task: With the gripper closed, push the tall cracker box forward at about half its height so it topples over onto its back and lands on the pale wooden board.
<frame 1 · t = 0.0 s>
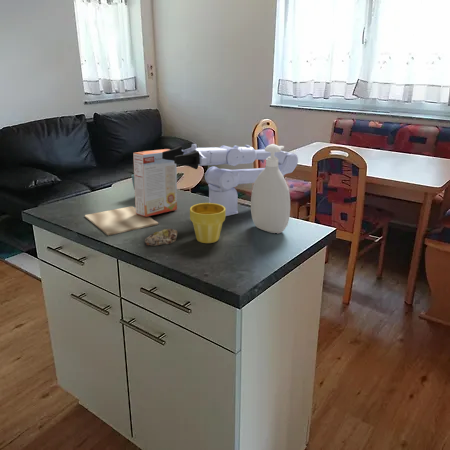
hand: (168, 157, 139), 22 cm above the countertop, tool horizontal, fingers open, 7 cm apart
soap bottle: (270, 229, 144), on the countertop
plant pot: (207, 239, 136), on the countertop
flower pot: (148, 197, 174), on the countertop
mineral rock: (160, 241, 135), on the countertop
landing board: (120, 220, 150), on the countertop
cracker box: (156, 212, 157), on the countertop
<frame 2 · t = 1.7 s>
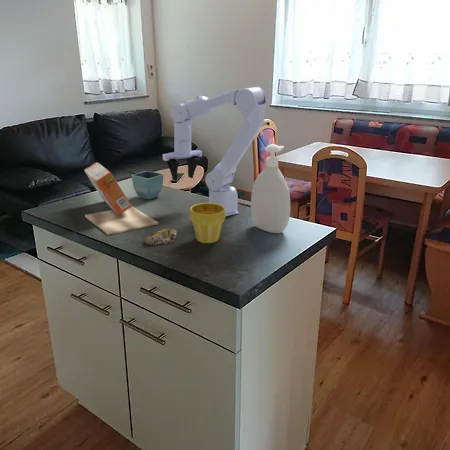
hand: (182, 178, 160), 10 cm above the countertop, tool pointing down, fingers open, 6 cm apart
cracker box: (115, 194, 148), point 8 cm above the countertop, touching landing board
everything else where it was.
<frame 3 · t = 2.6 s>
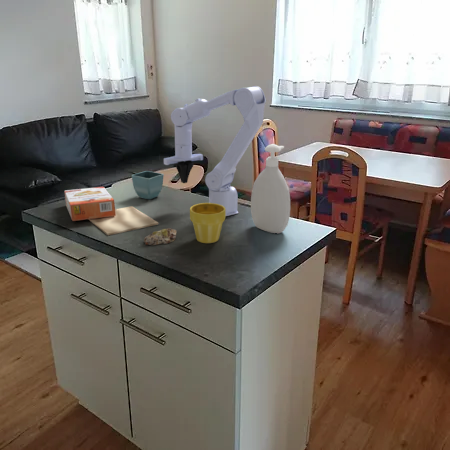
hand: (184, 182, 160), 9 cm above the countertop, tool pointing down, fingers closed
cracker box: (94, 210, 147), point 4 cm above the countertop, touching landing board
everything else where it was.
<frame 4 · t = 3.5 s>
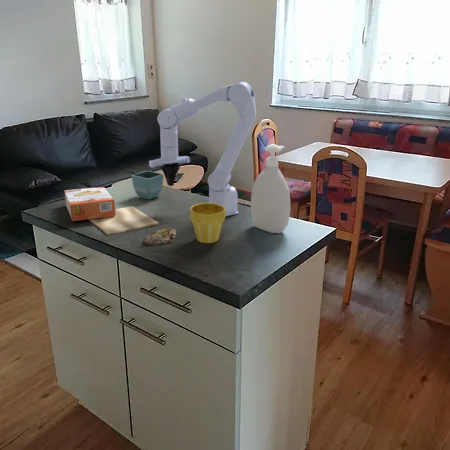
hand: (170, 185, 157), 9 cm above the countertop, tool pointing down, fingers closed
nothing on the countertop moved.
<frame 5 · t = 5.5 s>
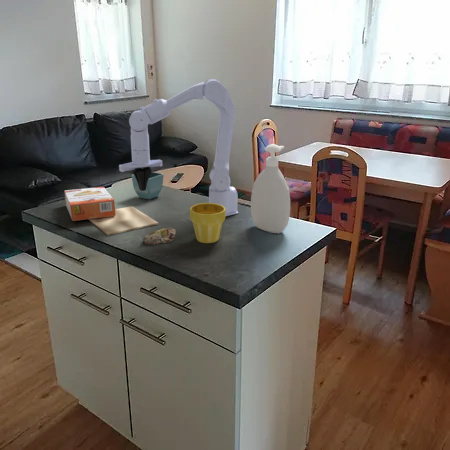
hand: (142, 189, 152), 9 cm above the countertop, tool pointing down, fingers closed
nothing on the countertop moved.
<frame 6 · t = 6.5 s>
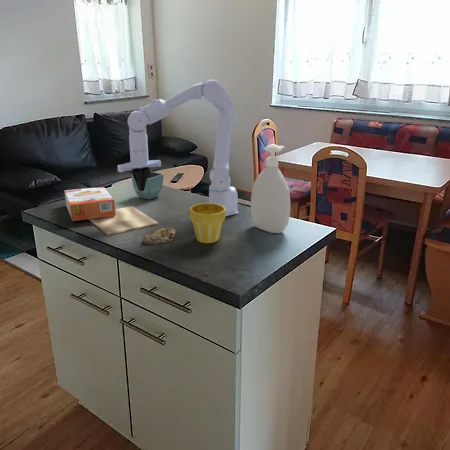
hand: (141, 190, 151), 9 cm above the countertop, tool pointing down, fingers closed
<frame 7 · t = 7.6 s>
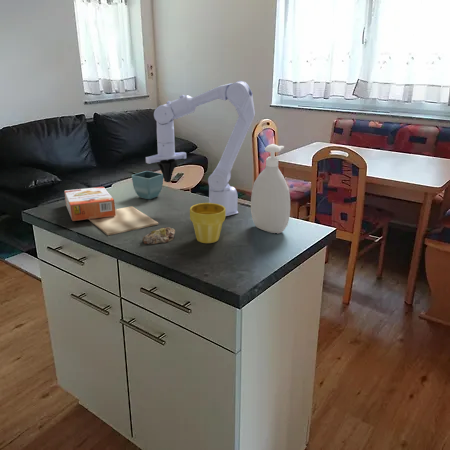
hand: (167, 181, 157), 10 cm above the countertop, tool pointing down, fingers closed
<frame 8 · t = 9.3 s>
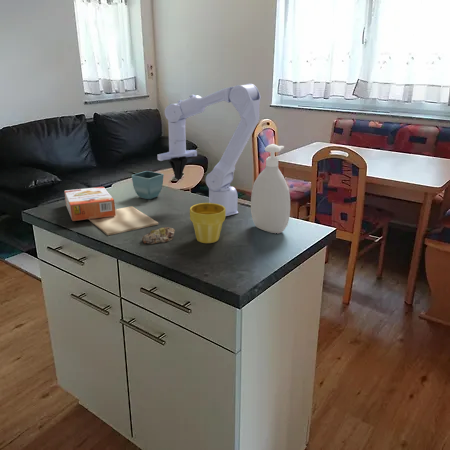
hand: (178, 178, 160), 10 cm above the countertop, tool pointing down, fingers closed
at the end: cracker box tilted 93°; cracker box touching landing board, countertop; cracker box inside the target area (11.5 cm from its centre), point 4.0 cm above the countertop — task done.
